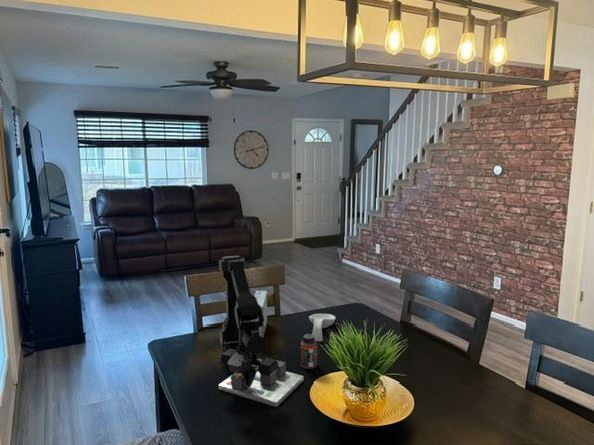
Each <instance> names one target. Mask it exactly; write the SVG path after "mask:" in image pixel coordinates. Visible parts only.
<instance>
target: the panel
mask: <svg viewBox="0 0 594 445" xmlns="http://www.w3.org/2000/svg"><path fill="white" fill-rule="evenodd" d="M235 373H236V372H233V374H232V375H234V374H235ZM232 375H230V376H228V377H227V378H226V379H225V380H223V381H222V382H220V383H219V384H218V390H220V391H223V392H227V393H230V394H233V395H237V396H240V397H242V398H243V397H244V398H246V399H248V400H249V399H250V400H253V401H256V402H259V403H262V404H266V405H268V406H272V407H275V408H277V407H278V406H279V405H280V404H281V403H282V402H284V401H285V400H286V398H288V397H289V396H290V395H291V393H293V391H294V390H295V389H297V388H298V386H299V385H300V384H301V383H303V382H304V377H305V375H301V374H297V373H293V372H289V371H286V372H285V373H284V374H283V375H282V376H281V377H280V376H277V375H276V381H275V382H274V383H273V384H272V385H271V386H270V385H267V384H263V383H260V373H259V372H258V371H257V373H256V375H255V378H254V380H253V383H252V385H251V386H250V387H247V386H245V387H244V388H243V389H242V390H241V389H237V388H234V387H231V376H232Z"/></svg>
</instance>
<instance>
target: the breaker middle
mask: <svg viewBox="0 0 594 445" xmlns="http://www.w3.org/2000/svg"><path fill="white" fill-rule="evenodd" d="M275 381H276V371H274V372H273V373H272V374H271V375H270V376H266V375H262V374H260V383H263V384H267V385H270V386H271V385H272V384H273V383H274V382H275Z"/></svg>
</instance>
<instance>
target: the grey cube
mask: <svg viewBox="0 0 594 445" xmlns="http://www.w3.org/2000/svg"><path fill="white" fill-rule="evenodd" d="M234 373H235V372H234ZM234 373H233V374H234ZM230 376H231V375H230ZM245 386H247V384H246V382H245V379H244V377H243V375H242V373H241V374H238V373H235V374H234V375H232V376H231V387H234V388H237V389H241V390H242V389H243V388H244V387H245Z"/></svg>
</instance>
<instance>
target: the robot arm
mask: <svg viewBox="0 0 594 445" xmlns="http://www.w3.org/2000/svg"><path fill="white" fill-rule="evenodd" d="M218 267H219V268H218V269H219V271H220V273H221V275H222V277H223V278H224V279H225V308H226V309H225V312H226V315H225V316H226V317H225V319H224V320H223V322H222V325H221V330H220V332H219V343H220V345H221V347H222V352H223V353H221V354H220V357H219V359H220V360H219V362H220V364H223V365H227V366H228V368H229V372H231V373H235V372H236V373H238V374H241V373H242V375H243V377H244V379H245V382H246V384H247V387H250V386H251V385H252V383H253V380H254V378H255V375H256V373H257V371H258V372H259V373H260V374H262V375H266V376H270V375H271V374H272V373H273V372H274V371H276V370H277V369H278V362H277V361H276V359H273V358H269V357H266V358H264V359H261V358H260V357H261V353H262V352H264V350H265V348H266V346H267V343H266V340H265V338H264V337H263V336H262V335H261V334H260V332H259V327H263V326H264V325H263V322H264V317H263V313H262V308H261V307H260V305H259V304H258V302H257V299H256V297H255V295H254V294H252V293H251V290H250V286H249V282H248V279H247V276H246V275H247V274H246V272H245V271H246V260H245V258H243V257H242V258H241V256H240V255H229V256H222V257H221V259H219V260H218ZM258 318H259V321H252V320H257V319H258Z"/></svg>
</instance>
